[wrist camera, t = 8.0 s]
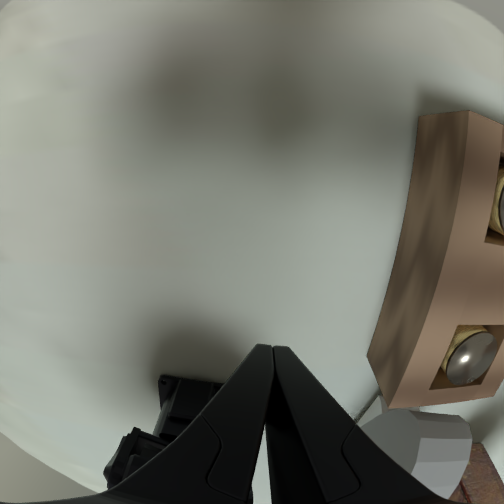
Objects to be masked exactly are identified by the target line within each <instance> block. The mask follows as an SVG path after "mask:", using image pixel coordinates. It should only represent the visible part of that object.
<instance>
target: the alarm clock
mask: <svg viewBox="0 0 504 504" xmlns="http://www.w3.org/2000/svg"><path fill="white" fill-rule="evenodd" d="M357 425H358V426H359V427H360V428H361V429H362V430H363V431H364V432H365V433H366V434H367V435H368V436H369V437H370V438H371V439H372V441H373V442H374V443H375V444H376V445H377V446H378V447H379V448H381V449H382V450H383V451H384V452H385V453H386V454H387V455H388V456H389V457H391V458H392V459H393V460H394V461H395V462H396V463H398V464H399V465H400V466H401V467H402V468H404V469H405V470H406V471H407V472H409V473H410V474H411V475H412V476H413V477H415V478H416V479H417V480H418V481H420V482H421V483H422V484H423V485H425V486H426V487H427V488H428V489H430V490H431V491H433V492H434V493H436V494H437V495H439V496H441V497H443V498H446V499H449V497H450V496H451V494H452V493H453V491H454V490H455V489H456V487H457V486H458V484H459V482H460V480H461V478H462V475H463V473H464V471H465V469H466V466H467V464H468V462H469V458H470V452H471V446H472V440H473V439H472V434H471V430H470V426H469V424H468V423H467V422H466V421H465V420H464V419H462V418H461V417H460V416H459V415H448V414H437V413H427V412H420V411H419V406H418V407H406V408H390V409H388V407H387V405H386V402H385V400H384V397H383V396H381V395H378V397H377V398H376V399H375V401H374V402H373V403H372V405H371V406H370V407H369V408H368V410H367V411H366V412H365V414H364V415H363V416H362V417H361V419H360V420H359V421H358V422H357Z"/></svg>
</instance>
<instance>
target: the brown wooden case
mask: <svg viewBox="0 0 504 504" xmlns="http://www.w3.org/2000/svg"><path fill="white" fill-rule="evenodd" d="M448 500H452V501H456V502H465V503H476V504H504V484H503V482H502V480H501V478H500V476H499V474H498V472H497V470H496V468H495V466H494V464H493V462H492V461H491V459H490V457H489V455H488V453H487V451H486V449H485V448H484V446H483V444H481V443H472V446H471V452H470V458H469V462H468V464H467V466H466V469H465V471H464V473H463V475H462V478H461V480H460V482H459V484H458V486H457V487H456V489H455V490H454V491H453V493H452V494H451V496H450V497H449V499H448Z"/></svg>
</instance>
